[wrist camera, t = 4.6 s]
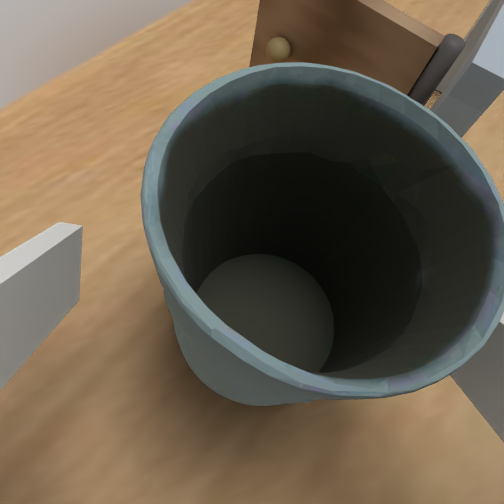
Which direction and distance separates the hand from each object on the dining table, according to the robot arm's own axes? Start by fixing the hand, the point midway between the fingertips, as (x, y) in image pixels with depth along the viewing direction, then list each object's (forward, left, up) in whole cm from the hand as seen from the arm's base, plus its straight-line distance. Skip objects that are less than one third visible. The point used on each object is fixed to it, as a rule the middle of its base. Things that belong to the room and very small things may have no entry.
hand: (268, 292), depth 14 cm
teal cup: (+1, -1, -8) cm, 8 cm away
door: (+13, -6, -7) cm, 16 cm away
